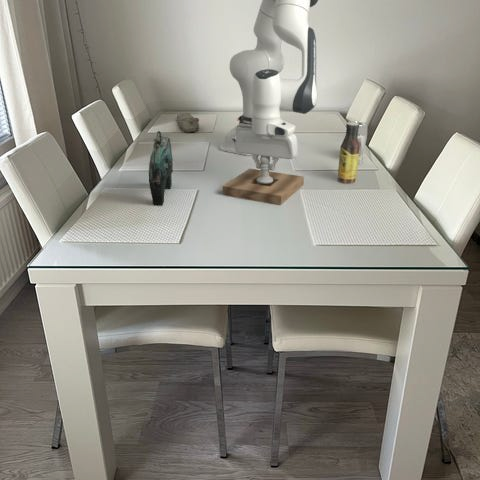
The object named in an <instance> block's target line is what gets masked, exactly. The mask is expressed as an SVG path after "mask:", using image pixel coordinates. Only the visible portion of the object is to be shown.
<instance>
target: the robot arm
mask: <svg viewBox="0 0 480 480" xmlns="http://www.w3.org/2000/svg"><path fill="white" fill-rule="evenodd" d="M318 1H319V0H261V4H260V6H259V10H258V13H257V15H256V19H255V22H254V25H253V34H254V36H255V37H256V46H255V48H254V49H246V50H242V51H240V52H237V53H235V54H233V56H232V57H231V58H230V61H229V71H230V74H231V76H232V77H233V79H235V80H236V81H237V83H238V85H239V87H240V90H241V94H242V96H241V97H242V112H243V113H242V115H240V116H238V117H237V119H236V120H237V121H239V123H238V124H237V125H235V126H234V127H233V128H232V129H231V130H230V131H228V132H227V133H226V135H225V138H224V139H225V140H224V143H221V144H220V146H219V150H220V151H224V152H228V153H232V154H233V153H234V154H238V155H243V156H247V157H249V156H252V160H253V162H254V163H255V169H257V170H261V169H260V164H261V162H260V157H261V156H267V157H270V158H272V159H271V160H272V161H273V162H272V163H269V164H270V165H269V171H271V172H275V170H276V164H277V163H278V161H279V160H280V159H285V160H293V159H295V158H296V157H297V156H298V152H299V151H298V138H297V136H296V134H295V132H296V125H294V124H293V123H290V122H287V121H286V120H284V119H282V118H281V116H282V115H281V112H292V113H296V114H297V113H298V114H302V115H303V114H304V115H305V114H307V113H310V111H312V110H313V109H314V108H315V107H316V105H317V102H318V90H317V89H318V87H317V39H316V38H317V37H316V34H315V31H314V29H313V28H312V27H310V24H309V14H310V8H312V7H314V6H316V5H317V3H318ZM282 41H283V42H285V43H286V44H288V45H291V46H293V47H295V48H296V49H299V51H301V77H299V79H291V78H288V79H287V78H281V75H280V73H281V72H282V71H283V69H284V65H285V59H284V55H283V53H282V50H281V49H282Z"/></svg>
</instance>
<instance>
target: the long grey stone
mask: <svg viewBox="0 0 480 480" xmlns="http://www.w3.org/2000/svg"><path fill="white" fill-rule="evenodd" d="M175 121H176V122H177V125H178V127H179V128H180V129H181V130H182V131H183V132H185V133H193V132H197V131H199V127H200V123H199V121H200V119H199V117H194V116H193V115H192V114H191V113H189V112H183V113H179V114H177V116H176V120H175Z"/></svg>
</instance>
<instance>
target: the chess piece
mask: <svg viewBox="0 0 480 480" xmlns="http://www.w3.org/2000/svg"><path fill="white" fill-rule="evenodd" d="M259 161H260V162H261V164H260V169H259V170H261V176H259V177H258V178H257V182H258V183H261V184H269V183H271V182H273V178H272V177H270V176H269V171H270V170H269V165H270V164H271V163H270V162H271V157H267V156H259Z"/></svg>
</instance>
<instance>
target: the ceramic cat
mask: <svg viewBox="0 0 480 480" xmlns="http://www.w3.org/2000/svg"><path fill="white" fill-rule="evenodd" d="M173 161H174V159H173V155H172V143H171V139H170V137H168V136H167V137H166V136H163V135H162V132H161V131H160V130H157V132H156V137H155V138H153V150H152V152H151V154H150V158H149V165H148V183H149V189H150V195H151V198H152V204H153V206H163V205H164V204H163V203H165V192H166V190H171V187H172V186H173V185H172V184H173V179H172V175H173V172H174V170H173V169H174V167H173V166H174V163H173Z"/></svg>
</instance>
